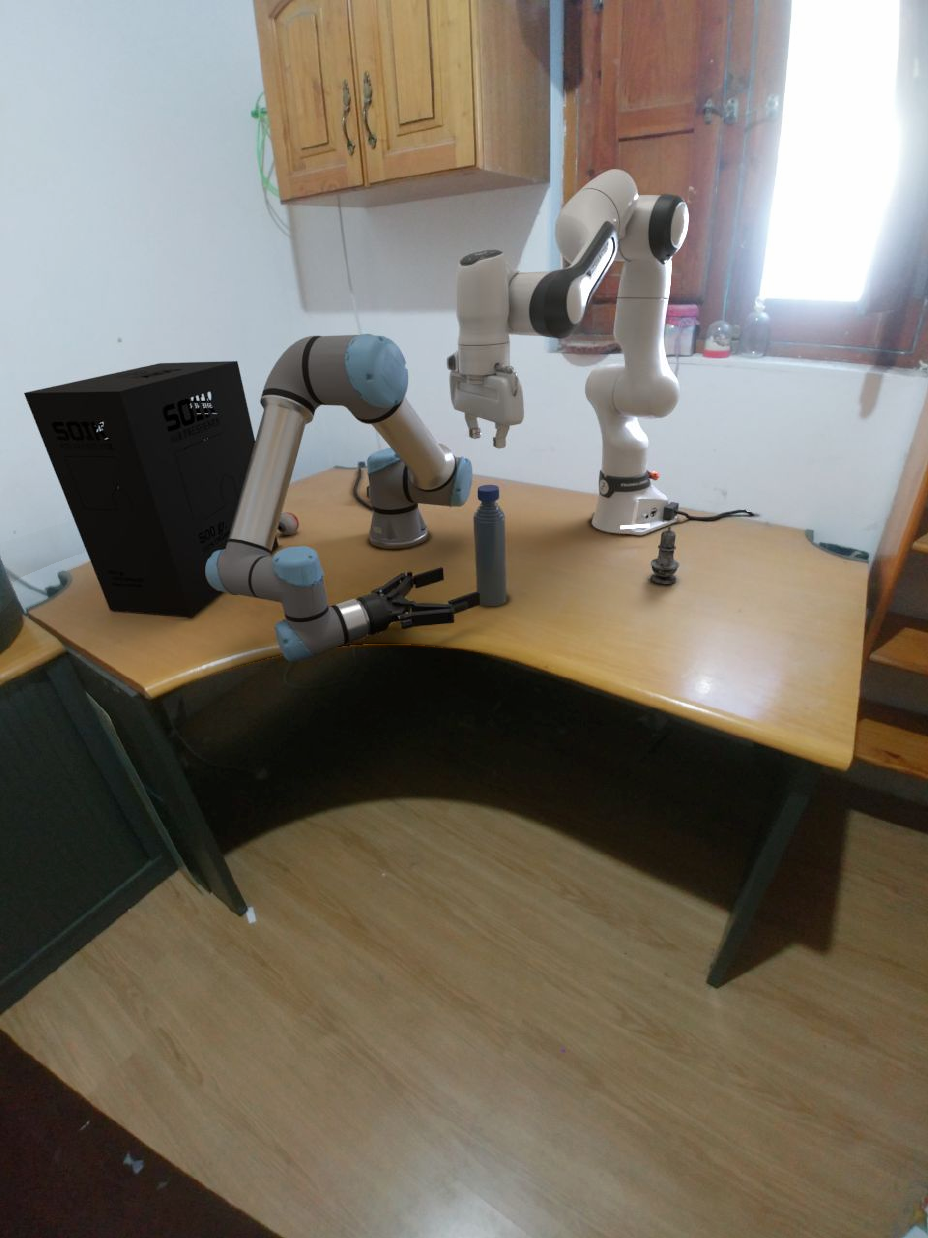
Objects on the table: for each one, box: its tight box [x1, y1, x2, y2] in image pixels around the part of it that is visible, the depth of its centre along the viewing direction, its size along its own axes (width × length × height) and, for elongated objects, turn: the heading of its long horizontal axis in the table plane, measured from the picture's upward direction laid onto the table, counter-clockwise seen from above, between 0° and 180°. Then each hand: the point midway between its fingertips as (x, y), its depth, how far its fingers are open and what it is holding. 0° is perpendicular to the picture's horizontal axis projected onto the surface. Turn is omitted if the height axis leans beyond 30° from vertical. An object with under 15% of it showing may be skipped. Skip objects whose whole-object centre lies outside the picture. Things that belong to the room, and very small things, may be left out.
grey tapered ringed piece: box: [649, 526, 680, 585], centre depth 128 cm, size 6×6×12 cm
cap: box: [477, 484, 500, 502], centre depth 115 cm, size 4×4×2 cm
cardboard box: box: [23, 360, 279, 618], centre depth 133 cm, size 38×20×45 cm, turn 167°
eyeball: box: [277, 511, 300, 536], centre depth 163 cm, size 6×6×6 cm
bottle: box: [472, 500, 508, 608], centre depth 121 cm, size 6×6×24 cm
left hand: (460, 585), depth 120 cm, fingers open, 13 cm apart
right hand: (486, 442), depth 110 cm, fingers open, 8 cm apart
